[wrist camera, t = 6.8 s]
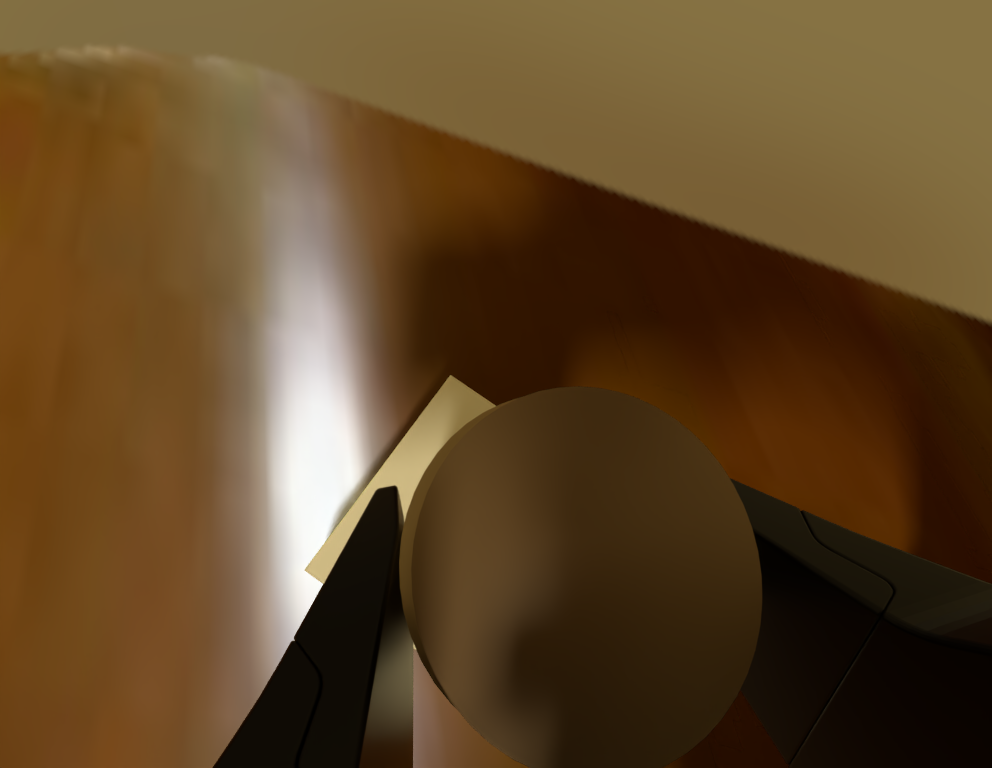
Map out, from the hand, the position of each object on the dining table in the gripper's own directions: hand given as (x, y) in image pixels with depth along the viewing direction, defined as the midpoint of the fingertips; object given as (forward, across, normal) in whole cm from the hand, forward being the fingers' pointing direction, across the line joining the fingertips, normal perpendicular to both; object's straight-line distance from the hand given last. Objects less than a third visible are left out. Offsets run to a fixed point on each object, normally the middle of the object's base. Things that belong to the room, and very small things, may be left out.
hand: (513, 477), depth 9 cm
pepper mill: (+4, 0, +6) cm, 7 cm away
